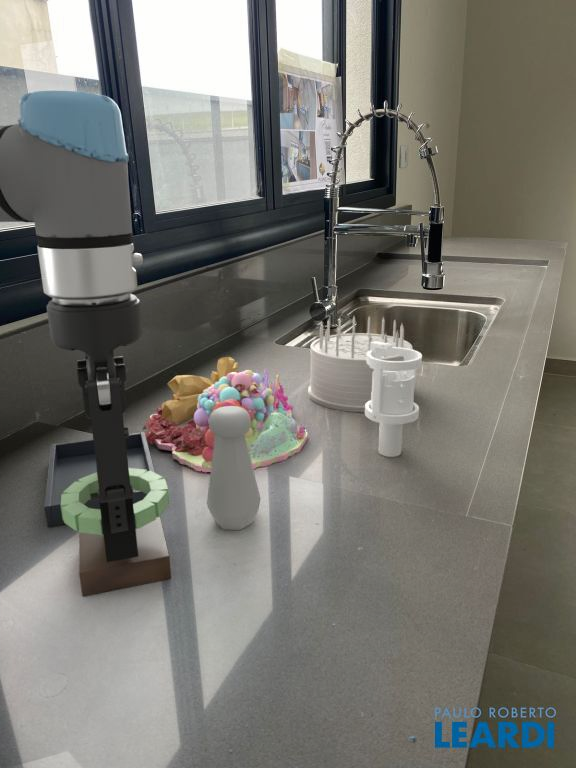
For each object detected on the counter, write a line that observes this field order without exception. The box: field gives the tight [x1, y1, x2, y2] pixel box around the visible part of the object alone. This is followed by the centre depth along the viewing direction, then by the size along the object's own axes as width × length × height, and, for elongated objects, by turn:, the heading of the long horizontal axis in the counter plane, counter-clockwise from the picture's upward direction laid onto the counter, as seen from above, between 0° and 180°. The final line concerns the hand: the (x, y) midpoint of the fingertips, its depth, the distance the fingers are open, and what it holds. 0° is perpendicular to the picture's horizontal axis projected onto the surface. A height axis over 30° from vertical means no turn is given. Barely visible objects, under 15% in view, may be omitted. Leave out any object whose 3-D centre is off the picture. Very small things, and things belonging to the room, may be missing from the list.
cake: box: [307, 315, 414, 413], centre depth 103 cm, size 18×18×13 cm
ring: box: [61, 468, 170, 535], centre depth 57 cm, size 10×10×2 cm
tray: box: [43, 431, 156, 528], centre depth 75 cm, size 12×17×2 cm
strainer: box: [364, 341, 423, 458], centre depth 80 cm, size 7×7×15 cm
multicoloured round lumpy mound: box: [141, 356, 309, 473], centre depth 88 cm, size 25×24×9 cm
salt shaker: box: [206, 406, 262, 531], centre depth 64 cm, size 6×6×13 cm
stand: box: [78, 516, 172, 597], centre depth 58 cm, size 8×8×10 cm
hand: (119, 526), depth 58 cm, fingers closed on ring, 10 cm apart
